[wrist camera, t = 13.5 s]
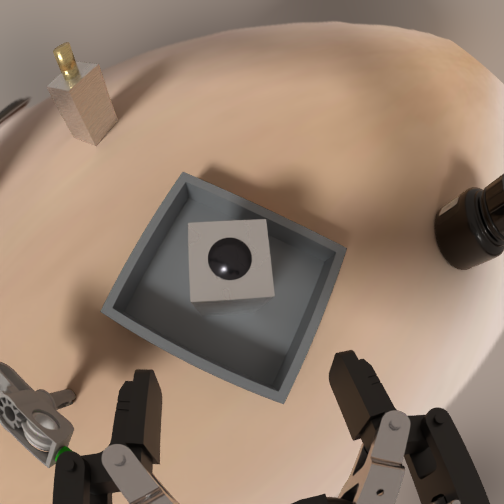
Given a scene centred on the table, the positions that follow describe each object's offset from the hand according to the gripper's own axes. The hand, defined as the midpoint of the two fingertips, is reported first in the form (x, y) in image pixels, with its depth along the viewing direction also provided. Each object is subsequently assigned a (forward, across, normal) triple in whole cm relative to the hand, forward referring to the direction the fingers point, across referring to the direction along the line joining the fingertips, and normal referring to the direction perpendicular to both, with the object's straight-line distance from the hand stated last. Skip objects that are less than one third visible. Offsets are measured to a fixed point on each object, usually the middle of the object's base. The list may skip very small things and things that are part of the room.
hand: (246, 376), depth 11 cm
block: (+13, 0, +4) cm, 13 cm away
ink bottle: (+16, -30, +2) cm, 34 cm away
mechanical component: (+6, +16, +12) cm, 21 cm away
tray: (+13, 0, +4) cm, 14 cm away
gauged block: (+28, +16, -10) cm, 34 cm away
